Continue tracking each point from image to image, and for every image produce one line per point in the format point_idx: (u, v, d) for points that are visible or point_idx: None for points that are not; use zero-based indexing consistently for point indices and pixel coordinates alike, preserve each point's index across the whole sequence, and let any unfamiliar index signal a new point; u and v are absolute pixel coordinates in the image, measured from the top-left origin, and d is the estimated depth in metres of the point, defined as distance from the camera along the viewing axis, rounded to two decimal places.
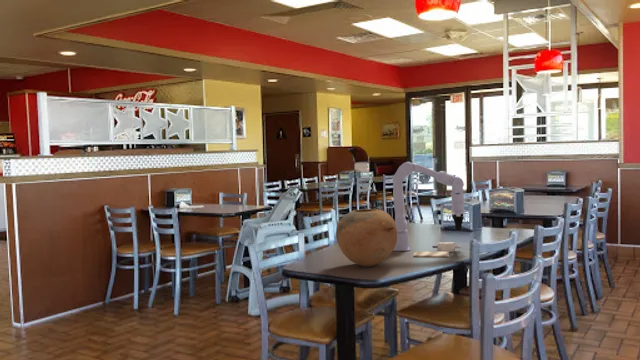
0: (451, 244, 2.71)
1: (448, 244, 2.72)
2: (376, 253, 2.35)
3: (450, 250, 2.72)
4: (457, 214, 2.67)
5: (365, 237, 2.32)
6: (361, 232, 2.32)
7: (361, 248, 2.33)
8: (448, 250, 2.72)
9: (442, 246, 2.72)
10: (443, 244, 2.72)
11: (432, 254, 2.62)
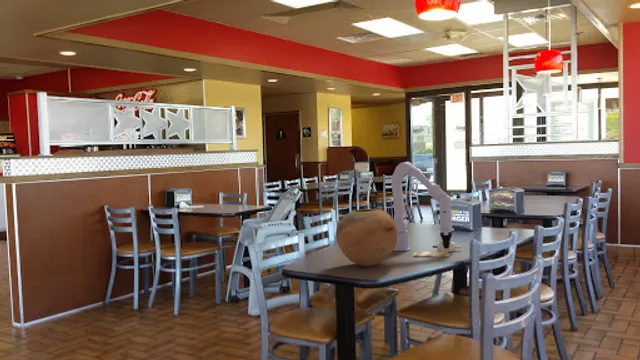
0: (451, 244, 2.71)
1: None
2: (376, 253, 2.35)
3: (450, 250, 2.72)
4: (445, 233, 2.66)
5: (365, 237, 2.32)
6: (361, 232, 2.32)
7: (361, 248, 2.33)
8: (448, 250, 2.72)
9: (442, 246, 2.72)
10: None
11: (432, 254, 2.62)
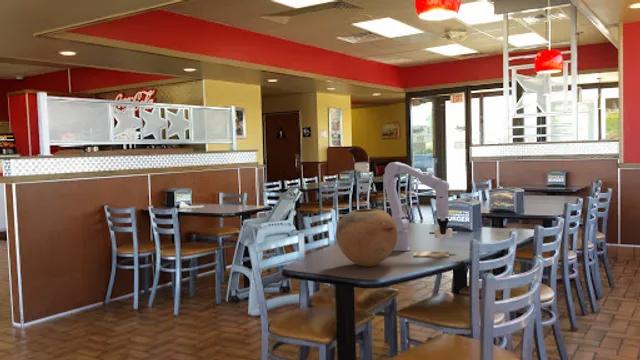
0: (448, 230, 2.69)
1: None
2: (376, 253, 2.35)
3: (447, 236, 2.69)
4: (441, 218, 2.64)
5: (365, 237, 2.32)
6: (361, 232, 2.32)
7: (361, 248, 2.33)
8: (445, 236, 2.70)
9: (439, 232, 2.70)
10: None
11: (432, 254, 2.62)
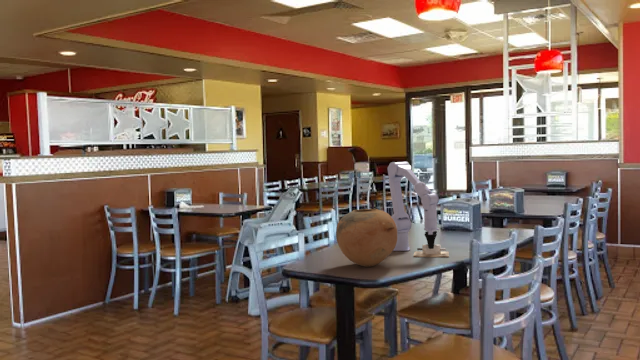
0: (436, 246, 2.62)
1: None
2: (376, 253, 2.35)
3: (435, 253, 2.62)
4: (429, 232, 2.57)
5: (365, 237, 2.32)
6: (361, 232, 2.32)
7: (361, 248, 2.33)
8: (433, 252, 2.63)
9: (427, 248, 2.63)
10: None
11: (432, 254, 2.62)
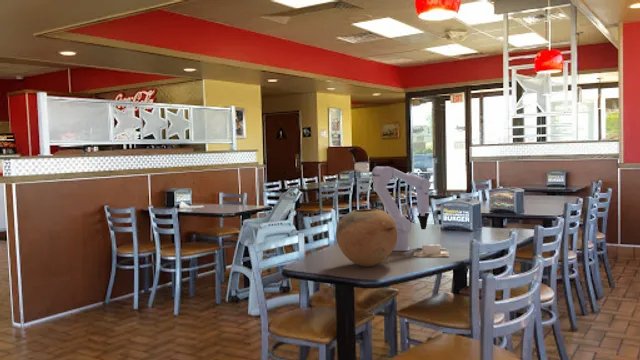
0: (436, 246, 2.62)
1: (433, 246, 2.62)
2: (376, 253, 2.35)
3: (435, 253, 2.62)
4: (421, 213, 2.80)
5: (365, 237, 2.32)
6: (361, 232, 2.32)
7: (361, 248, 2.33)
8: (433, 252, 2.63)
9: (427, 248, 2.63)
10: (428, 246, 2.63)
11: (432, 254, 2.62)
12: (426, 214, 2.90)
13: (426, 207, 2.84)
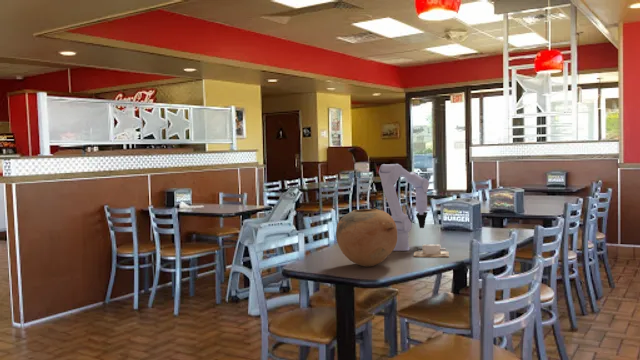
0: (436, 246, 2.62)
1: (433, 246, 2.62)
2: (376, 253, 2.35)
3: (435, 253, 2.62)
4: (420, 212, 2.85)
5: (365, 237, 2.32)
6: (361, 232, 2.32)
7: (361, 248, 2.33)
8: (433, 252, 2.63)
9: (427, 248, 2.63)
10: (428, 246, 2.63)
11: (432, 254, 2.62)
12: (424, 213, 2.95)
13: (424, 206, 2.89)
